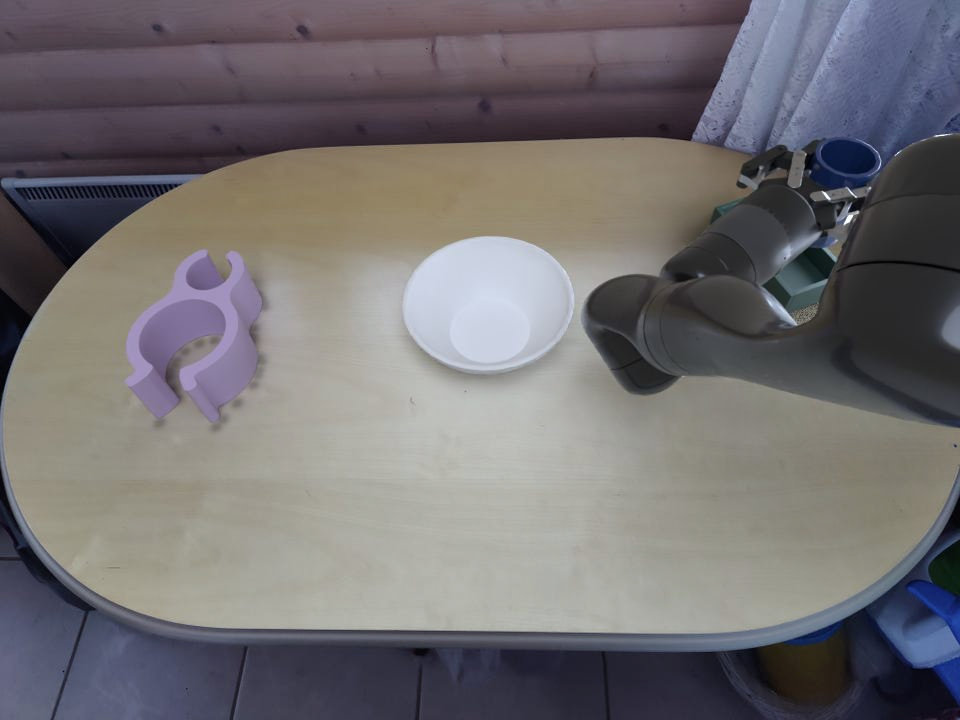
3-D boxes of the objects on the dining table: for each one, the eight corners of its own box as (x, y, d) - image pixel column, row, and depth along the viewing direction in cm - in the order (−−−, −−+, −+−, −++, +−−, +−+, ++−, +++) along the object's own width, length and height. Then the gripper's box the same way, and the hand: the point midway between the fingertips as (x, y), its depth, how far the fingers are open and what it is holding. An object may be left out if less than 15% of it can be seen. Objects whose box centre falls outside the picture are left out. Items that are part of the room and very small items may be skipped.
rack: (780, 316, 82) (791, 296, 79) (708, 228, 91) (714, 206, 87) (839, 295, 83) (852, 274, 80) (762, 210, 92) (770, 188, 89)
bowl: (529, 428, 75) (529, 396, 69) (379, 365, 81) (369, 331, 75) (595, 303, 84) (600, 265, 79) (457, 255, 90) (453, 217, 85)
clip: (193, 284, 90) (170, 247, 84) (284, 289, 88) (267, 252, 83) (133, 416, 79) (103, 384, 73) (236, 424, 77) (213, 392, 72)
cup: (852, 230, 76) (893, 158, 68) (817, 256, 74) (855, 185, 66) (806, 201, 79) (840, 129, 71) (772, 226, 77) (803, 154, 69)
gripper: (834, 255, 59) (938, 165, 64) (701, 173, 65) (806, 99, 71) (804, 309, 65) (901, 223, 70) (685, 230, 71) (783, 157, 77)
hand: (853, 161), depth 71 cm, fingers closed on cup, 6 cm apart
